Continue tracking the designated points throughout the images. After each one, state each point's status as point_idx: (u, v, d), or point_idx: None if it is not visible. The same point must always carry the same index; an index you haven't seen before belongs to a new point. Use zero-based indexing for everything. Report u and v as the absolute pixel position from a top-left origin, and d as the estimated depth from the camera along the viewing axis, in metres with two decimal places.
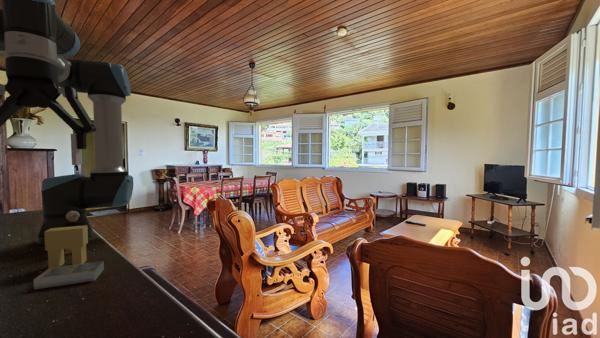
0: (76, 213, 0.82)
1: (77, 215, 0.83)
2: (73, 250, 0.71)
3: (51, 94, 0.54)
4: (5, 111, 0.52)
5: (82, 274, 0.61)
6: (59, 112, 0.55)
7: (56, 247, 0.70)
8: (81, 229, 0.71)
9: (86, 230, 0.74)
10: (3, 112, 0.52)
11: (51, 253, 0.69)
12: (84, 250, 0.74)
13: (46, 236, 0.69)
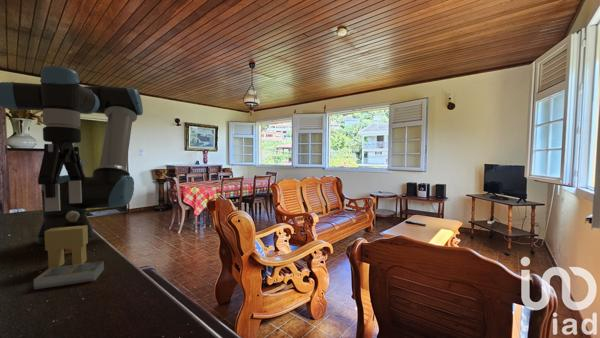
0: (76, 213, 0.82)
1: (77, 215, 0.83)
2: (73, 250, 0.71)
3: None
4: (65, 166, 0.74)
5: (82, 274, 0.61)
6: None
7: (56, 247, 0.70)
8: (81, 229, 0.71)
9: (86, 230, 0.74)
10: (65, 167, 0.74)
11: (51, 253, 0.69)
12: (84, 250, 0.74)
13: (46, 236, 0.69)
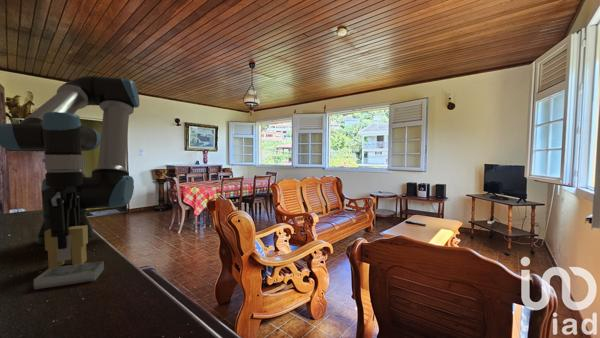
0: None
1: None
2: (73, 250, 0.71)
3: None
4: None
5: (82, 274, 0.61)
6: None
7: (56, 247, 0.70)
8: (81, 229, 0.71)
9: (86, 230, 0.74)
10: None
11: (52, 253, 0.69)
12: (84, 250, 0.74)
13: (46, 236, 0.69)
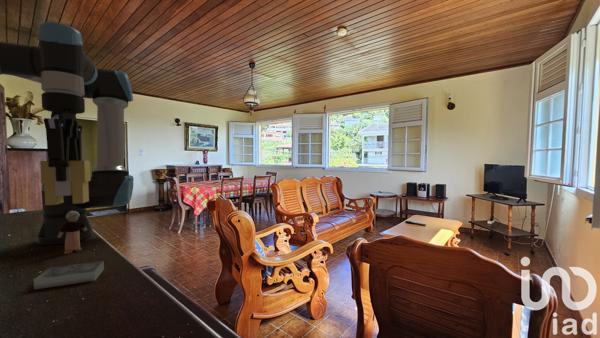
0: (76, 213, 0.82)
1: (77, 215, 0.83)
2: (73, 185, 0.62)
3: None
4: None
5: (82, 274, 0.61)
6: None
7: (53, 180, 0.60)
8: (83, 161, 0.62)
9: (88, 165, 0.65)
10: None
11: (49, 187, 0.60)
12: (86, 188, 0.64)
13: (42, 166, 0.59)
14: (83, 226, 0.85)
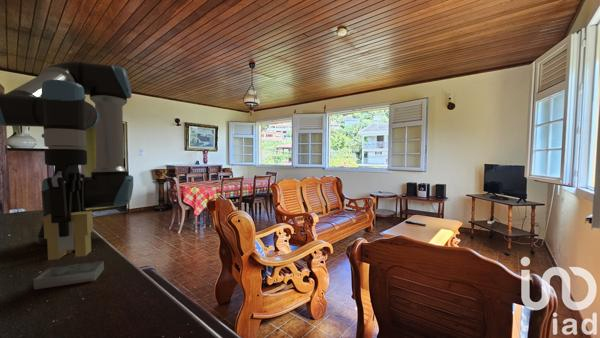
0: None
1: None
2: (76, 238, 0.62)
3: None
4: None
5: (82, 274, 0.61)
6: None
7: (56, 235, 0.61)
8: (85, 215, 0.63)
9: (90, 216, 0.65)
10: None
11: (52, 241, 0.60)
12: (88, 239, 0.65)
13: (45, 222, 0.60)
14: None
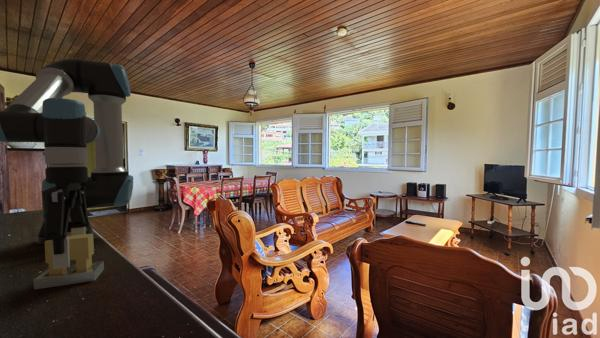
0: None
1: None
2: (77, 262, 0.62)
3: None
4: None
5: (82, 274, 0.61)
6: None
7: None
8: (86, 238, 0.63)
9: (91, 239, 0.65)
10: None
11: None
12: (89, 262, 0.65)
13: (47, 247, 0.60)
14: None
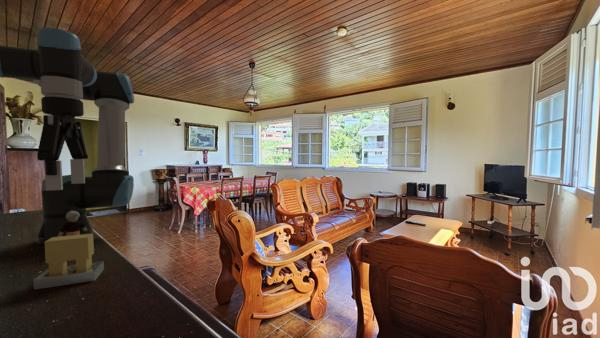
0: (76, 213, 0.82)
1: (77, 215, 0.83)
2: (77, 262, 0.62)
3: None
4: (66, 143, 0.67)
5: (82, 274, 0.61)
6: None
7: (58, 259, 0.61)
8: (86, 238, 0.63)
9: (91, 239, 0.65)
10: (66, 143, 0.68)
11: (53, 266, 0.61)
12: (89, 262, 0.65)
13: (47, 247, 0.60)
14: (83, 226, 0.85)
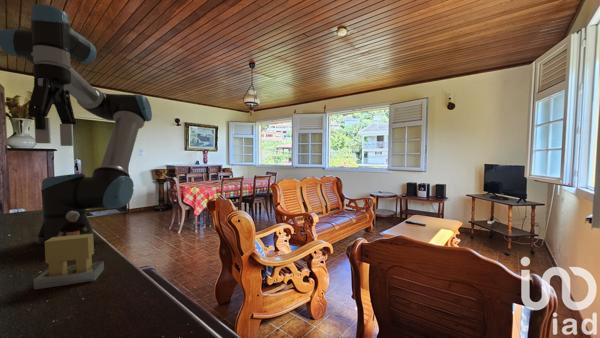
0: (76, 213, 0.82)
1: (77, 215, 0.83)
2: (77, 262, 0.62)
3: None
4: (56, 108, 0.76)
5: (82, 274, 0.61)
6: None
7: (58, 259, 0.61)
8: (86, 238, 0.63)
9: (91, 239, 0.65)
10: (56, 109, 0.77)
11: (53, 266, 0.61)
12: (89, 262, 0.65)
13: (47, 247, 0.60)
14: (83, 226, 0.85)
